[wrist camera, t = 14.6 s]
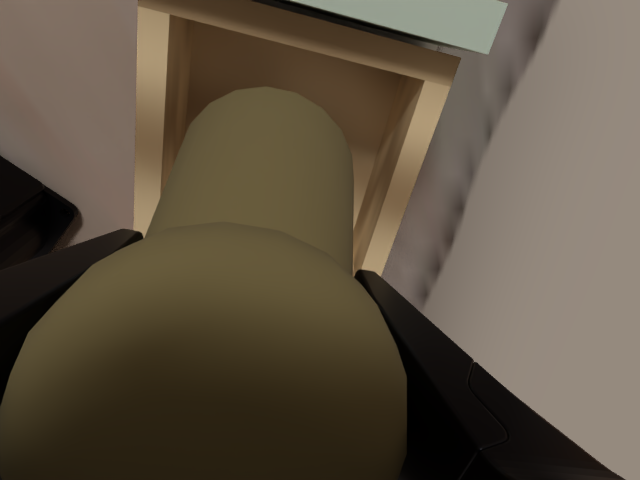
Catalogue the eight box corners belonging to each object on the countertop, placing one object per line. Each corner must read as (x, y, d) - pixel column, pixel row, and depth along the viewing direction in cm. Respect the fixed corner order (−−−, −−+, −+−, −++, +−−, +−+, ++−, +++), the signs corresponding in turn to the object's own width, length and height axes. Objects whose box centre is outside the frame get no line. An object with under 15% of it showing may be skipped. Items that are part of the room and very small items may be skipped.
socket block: (359, 254, 23) (371, 301, 19) (163, 217, 21) (132, 262, 18) (426, 49, 18) (461, 57, 14) (177, -18, 16) (138, -30, 12)
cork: (317, 271, 16) (348, 665, 6) (162, 226, 14) (-106, 632, 5) (383, 126, 13) (614, 416, 4) (200, 55, 12) (-220, 202, 2)
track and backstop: (338, 327, 27) (348, 406, 21) (154, 298, 25) (113, 377, 20) (444, 9, 18) (508, 3, 13) (173, -70, 16) (109, -116, 11)
